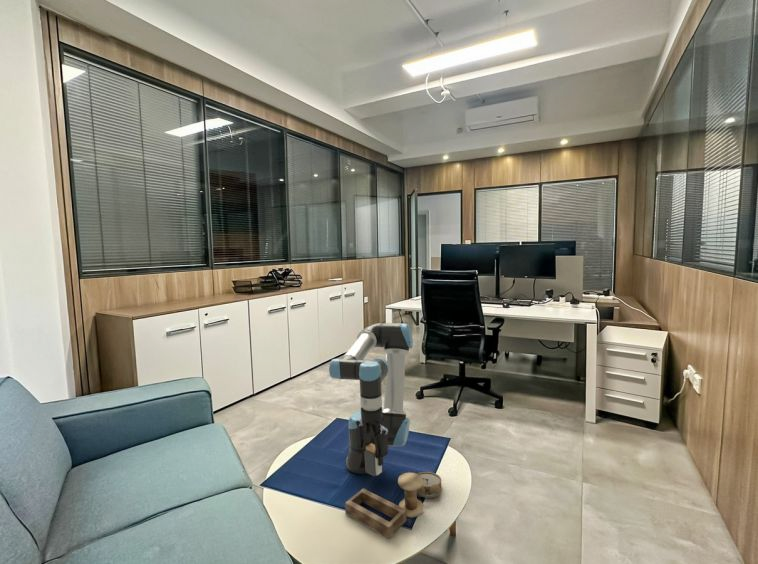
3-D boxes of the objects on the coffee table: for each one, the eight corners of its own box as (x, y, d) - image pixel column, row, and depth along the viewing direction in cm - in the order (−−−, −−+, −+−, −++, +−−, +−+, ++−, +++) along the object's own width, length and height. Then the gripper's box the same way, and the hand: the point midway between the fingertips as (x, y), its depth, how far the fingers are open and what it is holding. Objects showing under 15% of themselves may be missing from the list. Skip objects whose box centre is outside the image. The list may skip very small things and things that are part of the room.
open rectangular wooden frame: (345, 513, 131) (345, 502, 131) (363, 498, 139) (363, 488, 139) (389, 538, 119) (388, 527, 118) (406, 520, 126) (406, 509, 126)
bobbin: (394, 510, 132) (393, 481, 131) (407, 497, 139) (407, 469, 138) (414, 521, 126) (413, 491, 125) (428, 506, 133) (427, 478, 132)
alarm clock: (440, 472, 149) (442, 489, 134) (441, 484, 149) (442, 503, 134) (413, 470, 151) (412, 487, 136) (414, 483, 150) (412, 501, 136)
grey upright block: (372, 467, 130) (371, 442, 129) (381, 470, 128) (380, 445, 127) (365, 472, 127) (364, 447, 126) (374, 476, 124) (373, 450, 124)
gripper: (346, 404, 128) (348, 467, 130) (384, 416, 117) (386, 485, 119) (360, 397, 134) (362, 458, 136) (397, 408, 123) (399, 474, 125)
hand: (373, 470), depth 127 cm, fingers closed on grey upright block, 4 cm apart
